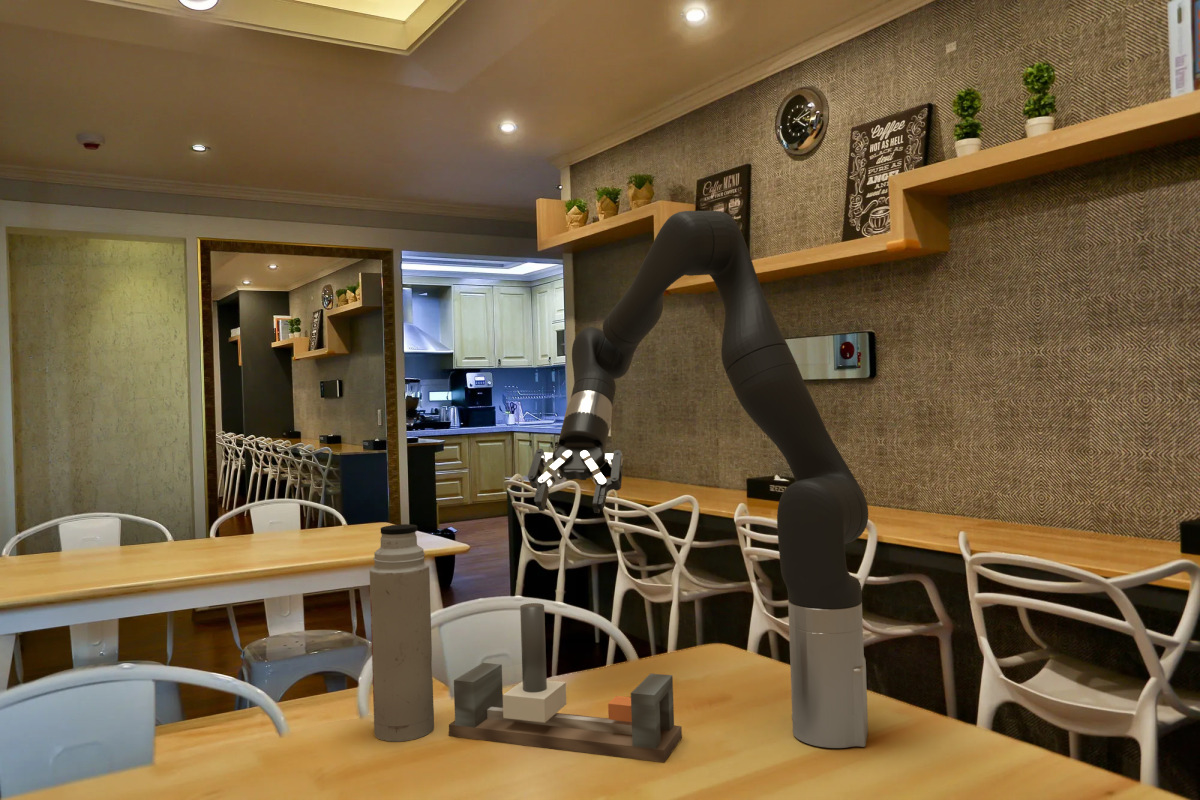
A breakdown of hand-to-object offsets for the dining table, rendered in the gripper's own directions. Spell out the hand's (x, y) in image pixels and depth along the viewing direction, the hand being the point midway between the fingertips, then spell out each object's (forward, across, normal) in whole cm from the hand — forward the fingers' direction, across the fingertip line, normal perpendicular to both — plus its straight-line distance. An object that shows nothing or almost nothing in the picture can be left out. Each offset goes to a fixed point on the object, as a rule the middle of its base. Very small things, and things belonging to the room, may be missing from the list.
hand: (567, 508), depth 125 cm
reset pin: (+28, +13, +5) cm, 31 cm away
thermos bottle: (+32, -19, +9) cm, 38 cm away
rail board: (+30, +3, +9) cm, 31 cm away
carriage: (+28, -1, +7) cm, 29 cm away
